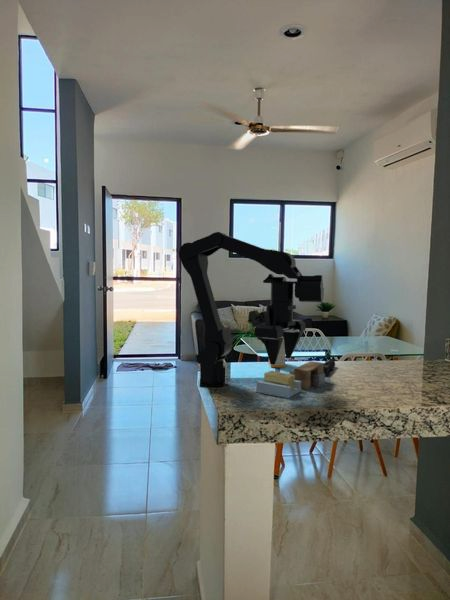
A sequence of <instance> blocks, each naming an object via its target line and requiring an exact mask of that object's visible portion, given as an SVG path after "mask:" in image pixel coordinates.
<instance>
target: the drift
mask: <svg viewBox="0 0 450 600" xmlns="http://www.w3.org/2000/svg"><path fill="white" fill-rule="evenodd" d="M289 374H293V375H294V369H292V370H289ZM325 386H326V376H325V374H322V373H316V372H311V385H310V388H312V387H313V389H317V388H318V389H317V390H319V388H320V389H321V388H324V387H325Z"/></svg>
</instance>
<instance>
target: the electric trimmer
mask: <svg viewBox="0 0 450 600" xmlns="http://www.w3.org/2000/svg"><path fill="white" fill-rule="evenodd" d="M323 363H324V368H323V374H325V377H327V376H328V373H329V372H332V371H333V370H334V369H335V367H336V361H335V360H334V359H333V358H330V359H329V360H327V361H325V362H323Z"/></svg>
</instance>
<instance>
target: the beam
mask: <svg viewBox="0 0 450 600" xmlns="http://www.w3.org/2000/svg"><path fill="white" fill-rule="evenodd" d="M324 363H325V362H319V361H311V360H310V361H308V362H305V363H303V364H301V365H298V366H297V367H295V368H294V369H293V370H294V375H295V380H298V381H301V390H307V391H308V390H309V389H311V387H310V385H311V372H316V373H322V374H323V368H324Z"/></svg>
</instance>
